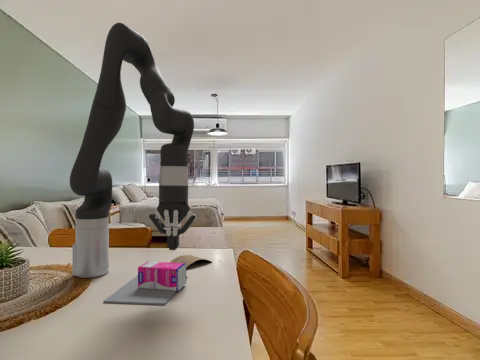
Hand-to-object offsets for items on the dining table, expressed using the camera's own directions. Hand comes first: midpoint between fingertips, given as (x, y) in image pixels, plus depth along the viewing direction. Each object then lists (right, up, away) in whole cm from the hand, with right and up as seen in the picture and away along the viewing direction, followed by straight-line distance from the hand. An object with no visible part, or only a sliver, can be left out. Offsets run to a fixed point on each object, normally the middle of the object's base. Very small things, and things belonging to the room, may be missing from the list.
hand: (173, 249), depth 82 cm
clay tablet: (0, -11, +25) cm, 28 cm away
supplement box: (+3, -7, 0) cm, 8 cm away
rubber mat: (-6, -11, +1) cm, 12 cm away
